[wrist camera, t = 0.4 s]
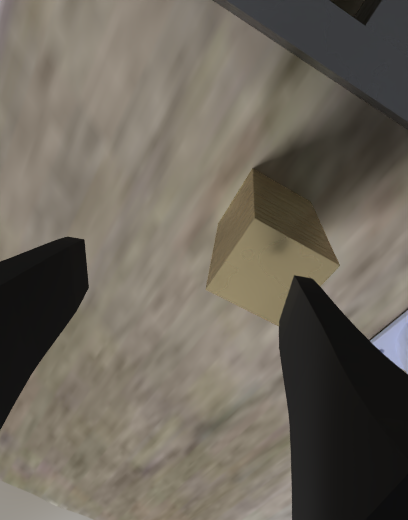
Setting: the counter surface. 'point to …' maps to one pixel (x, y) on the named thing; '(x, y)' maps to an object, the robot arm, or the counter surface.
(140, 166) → the counter surface
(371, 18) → the grey slotted block
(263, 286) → the brass peg
